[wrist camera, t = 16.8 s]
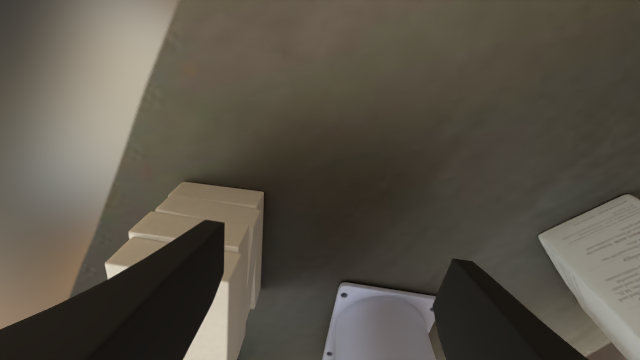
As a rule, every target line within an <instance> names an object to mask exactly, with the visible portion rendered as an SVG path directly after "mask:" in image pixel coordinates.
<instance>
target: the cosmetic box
mask: <svg viewBox="0 0 640 360" xmlns="http://www.w3.org/2000/svg"><path fill="white" fill-rule="evenodd" d="M538 238H539V240H540V242H541V244H542V246H543V247H544V249H545V251H546V252H547V254H548V255H549V257H550V259H551V260H552V262H553V264H554V265H555V267H556V269H557V270H558V272H559V273H560V275H561V277H562V278H563V280H564V281H565V283H566V285H567V286H568V288H569V289H570V290H571V292H572V293H573V294H574V295H575V297H576V299H577V301H578V303H579V305H580V306H581V307H582V309H583V310H584V311H585V312H586V313H587V314H588V316H589V317H590V318H591V319H592V320H593V321H594V322H595V323H596V325H597V326H598V327H599V328H600V329H601V330H602V332H603V333H604V334H605V335H606V336H607V337H608V338H609V339H610V341H611V342H612V343H613V344H614V345H615V346H616V348H617V349H618V350H619V351H620V352H621V353H622V354H623V356H624V357H625V358H626V359H627V360H640V199H638V198H636V197H634V196H632V195H630V194H627V195H622V196H620V197H618V198H616V199H614V200H611V201H609V202H607V203H605V204H603V205H601V206H599V207H596V208H594V209H592V210H590V211H588V212H586V213H584V214H582V215H579V216H577V217H575V218H573V219H571V220H569V221H566V222H564V223H562V224H560V225H558V226H556V227H554V228H552V229H550V230H547V231H545V232H543V233H541V234H539V236H538Z"/></svg>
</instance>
